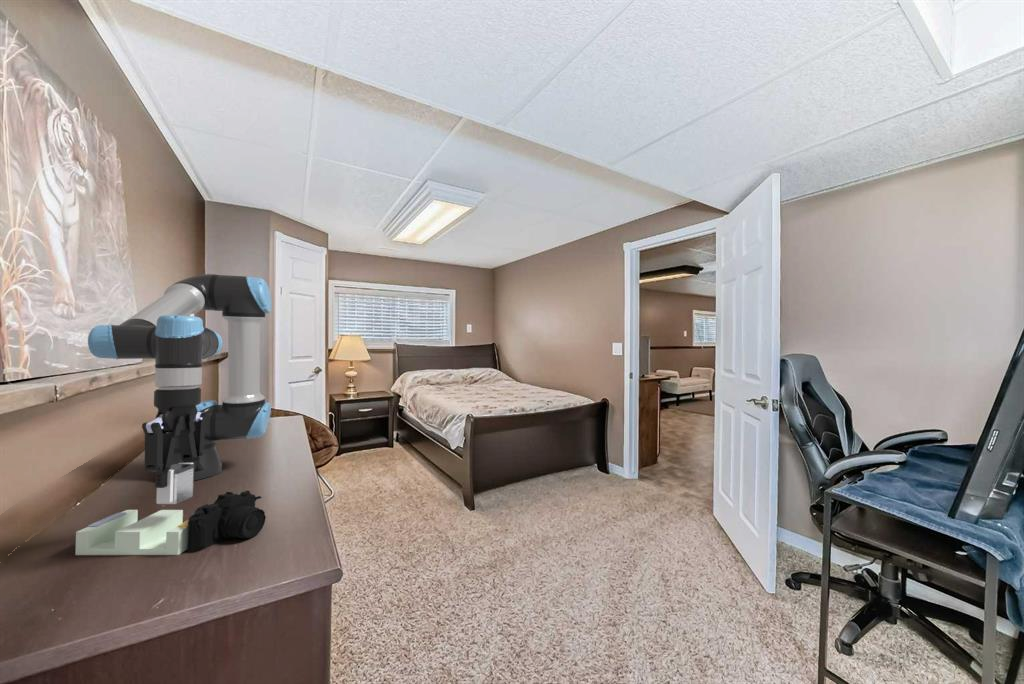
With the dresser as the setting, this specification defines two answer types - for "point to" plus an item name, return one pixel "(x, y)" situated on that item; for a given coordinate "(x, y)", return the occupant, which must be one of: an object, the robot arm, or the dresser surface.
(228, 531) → the film camera
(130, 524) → the socket block
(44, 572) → the dresser surface
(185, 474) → the plug
